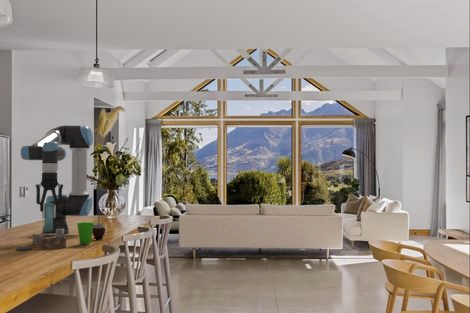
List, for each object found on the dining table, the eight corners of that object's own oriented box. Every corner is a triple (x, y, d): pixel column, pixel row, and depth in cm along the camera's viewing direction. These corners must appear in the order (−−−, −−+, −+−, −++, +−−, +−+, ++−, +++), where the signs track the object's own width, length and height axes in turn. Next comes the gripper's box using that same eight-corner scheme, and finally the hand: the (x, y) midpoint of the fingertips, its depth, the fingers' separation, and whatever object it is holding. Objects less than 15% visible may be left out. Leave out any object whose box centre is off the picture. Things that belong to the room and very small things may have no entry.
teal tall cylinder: (51, 230, 278) (52, 203, 278) (54, 231, 274) (54, 203, 274) (42, 230, 276) (43, 203, 276) (44, 231, 272) (45, 203, 272)
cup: (97, 243, 286) (98, 222, 286) (87, 245, 277) (88, 224, 277) (83, 242, 289) (83, 221, 289) (72, 244, 280) (73, 223, 280)
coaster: (30, 248, 266) (30, 246, 266) (33, 250, 260) (33, 248, 260) (14, 249, 262) (14, 247, 262) (17, 251, 256) (17, 249, 256)
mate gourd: (98, 238, 307) (99, 211, 307) (108, 239, 303) (109, 212, 303) (88, 239, 301) (89, 212, 301) (99, 240, 297) (99, 213, 297)
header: (56, 242, 287) (56, 225, 287) (65, 247, 270) (66, 229, 270) (32, 243, 280) (32, 226, 281) (40, 249, 263) (41, 230, 264)
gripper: (65, 172, 283) (64, 216, 283) (30, 171, 274) (28, 217, 274) (69, 172, 277) (68, 218, 277) (33, 172, 268) (32, 219, 267)
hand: (48, 217), depth 275 cm, fingers closed on teal tall cylinder, 5 cm apart
